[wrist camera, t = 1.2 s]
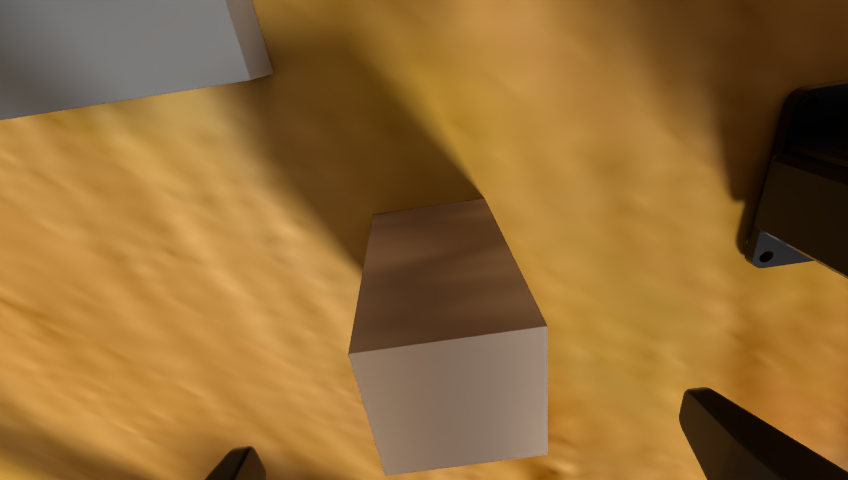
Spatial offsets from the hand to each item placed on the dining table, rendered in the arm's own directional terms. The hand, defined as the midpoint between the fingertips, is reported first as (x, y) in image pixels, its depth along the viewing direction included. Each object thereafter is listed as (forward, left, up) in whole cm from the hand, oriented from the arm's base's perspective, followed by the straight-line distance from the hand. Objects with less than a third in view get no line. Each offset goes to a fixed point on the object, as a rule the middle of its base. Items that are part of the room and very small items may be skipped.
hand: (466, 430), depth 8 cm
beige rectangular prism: (0, 0, -8) cm, 8 cm away
